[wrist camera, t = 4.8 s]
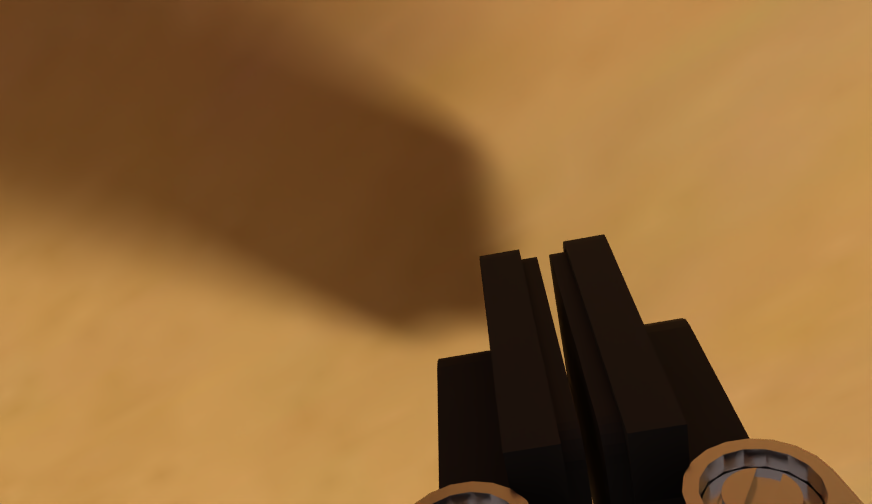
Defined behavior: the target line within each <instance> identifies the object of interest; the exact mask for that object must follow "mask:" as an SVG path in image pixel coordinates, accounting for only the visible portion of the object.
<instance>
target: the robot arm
mask: <svg viewBox="0 0 872 504" xmlns="http://www.w3.org/2000/svg"><path fill="white" fill-rule="evenodd" d="M563 250H564V252H562V253H557V254H551V255H549V258H550V266H551V273H552V279H553V286H554V292H555V299H556V306H557V312H558V319H559V325H560V332H561V339H562V345H563V352H564V358H565V365H566V370H565V366H564V363H563V359H562V355H561V351H560V347H559V343H558V339H557V335H556V331H555V327H554V323H553V319H552V315H551V311H550V307H549V303H548V299H547V295H546V291H545V287H544V283H543V280H542V276H541V272H540V268H539V264H538V260H537V257H534V258H528V259H523V260H521V256H520V252H519V250H513V251H507V252H502V253H496V254H490V255H485V256H479V257H480V266H481V274H482V283H483V291H484V300H485V308H486V317H487V325H488V334H489V342H490V351H484V352H478V353H472V354H466V355H460V356H454V357H448V358H442V359H439V360H438V364H437V380H438V446H439V490H436V491H433V492H431V493H429V494H428V495H426V496H425V497H423V498H422V499H421V500H419V501H418V502H416V503H415V504H864V503H863V502H862V501H861V500H860V499H859V498H858V497H857V496H856V494H855V493H854V492H853V491H852V490H851V489H850V488H849V487H848V485H847V484H846V483H845V482H844V481H843V480H842V479H841V478H840V476H839V475H838V474H837V473H836V472H835V471H834V470H833V469H832V468H831V467H830V466H828V465H827V464H826V463H825V462H824V461H822V460H821V459H820V458H819V457H818V456H816V455H814V454H812V453H810V452H808V451H806V450H804V449H802V448H800V447H797V446H795V445H791V444H787V443H783V442H779V441H775V440H766V439H749V437H748V435H747V433H746V431H745V429H744V427H743V425H742V423H741V421H740V420H739V418H738V416H737V414H736V412H735V410H734V408H733V406H732V404H731V403H730V401H729V399H728V397H727V395H726V393H725V391H724V389H723V387H722V385H721V384H720V382H719V380H718V378H717V376H716V374H715V372H714V370H713V368H712V367H711V365H710V363H709V361H708V359H707V357H706V355H705V353H704V351H703V349H702V348H701V346H700V344H699V342H698V340H697V338H696V336H695V334H694V332H693V331H692V329H691V327H690V325H689V324H688V322H687V321H686V319H683V318H680V319H675V320H669V321H663V322H657V323H651V324H645V325H644V324H643V322H642V319H641V317H640V315H639V312H638V310H637V308H636V306H635V303H634V301H633V299H632V296H631V294H630V292H629V289H628V287H627V285H626V283H625V280H624V278H623V276H622V273H621V271H620V269H619V266H618V264H617V262H616V260H615V257H614V255H613V253H612V250H611V248H610V246H609V243H608V241H607V239H606V237H605V235H598V236H592V237H587V238H581V239H575V240H570V241H564V242H563ZM566 372H567V374H566ZM592 500H593V503H592Z"/></svg>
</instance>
